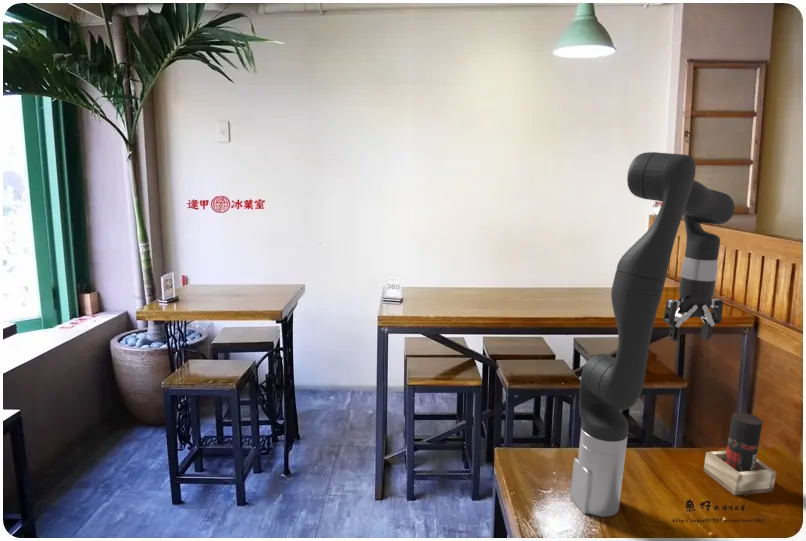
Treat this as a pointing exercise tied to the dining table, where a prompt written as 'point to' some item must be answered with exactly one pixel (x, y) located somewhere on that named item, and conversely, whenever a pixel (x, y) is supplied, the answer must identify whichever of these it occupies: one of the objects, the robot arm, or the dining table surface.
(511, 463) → the dining table surface
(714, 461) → the white wooden box
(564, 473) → the dining table surface
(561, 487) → the dining table surface
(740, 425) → the deodorant
